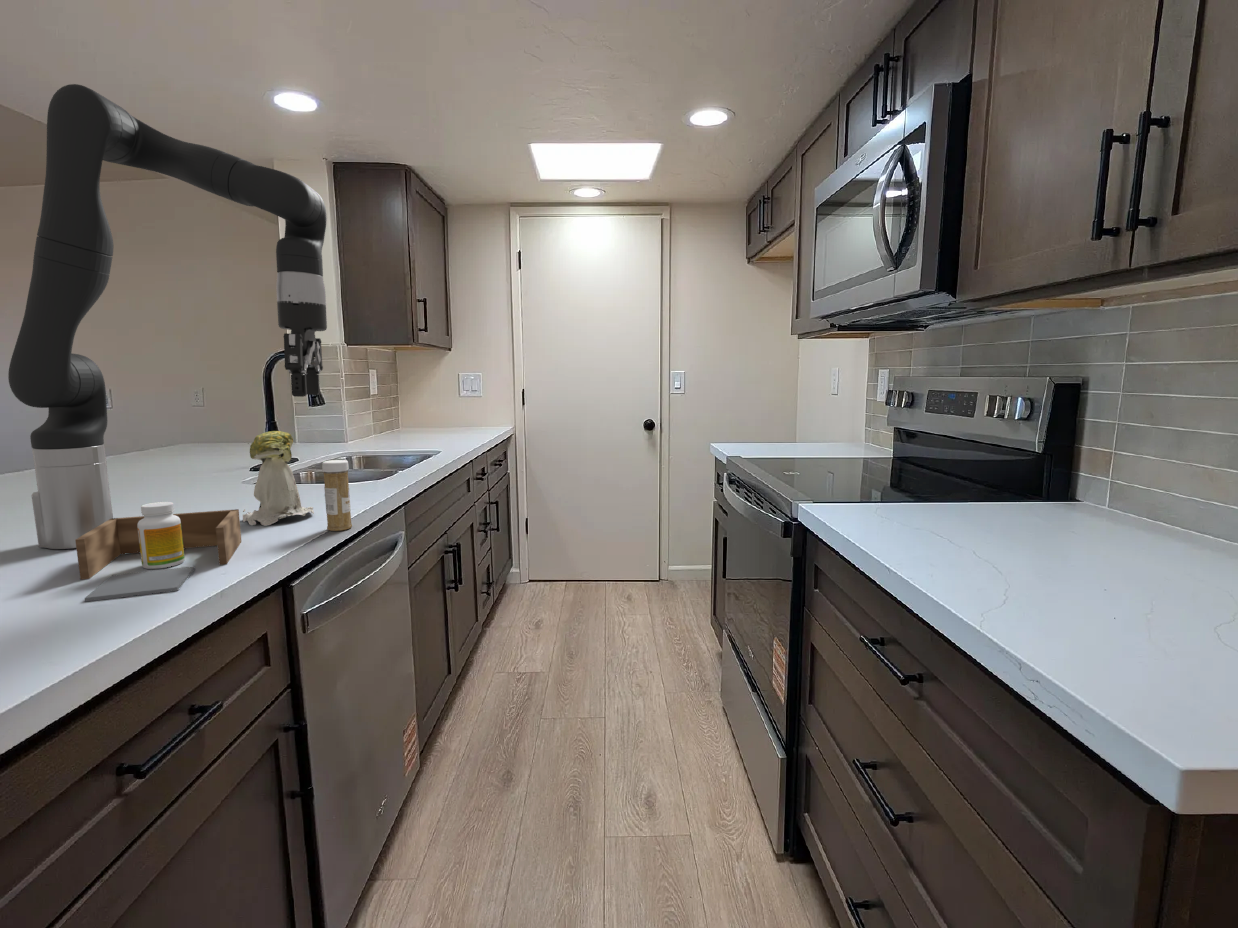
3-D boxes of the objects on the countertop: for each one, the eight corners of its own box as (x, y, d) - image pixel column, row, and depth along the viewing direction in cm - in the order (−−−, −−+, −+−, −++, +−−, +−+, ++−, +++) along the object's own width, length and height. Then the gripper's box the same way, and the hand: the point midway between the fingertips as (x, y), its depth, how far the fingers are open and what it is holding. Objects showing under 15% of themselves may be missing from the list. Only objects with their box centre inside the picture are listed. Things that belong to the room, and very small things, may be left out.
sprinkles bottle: (355, 528, 115) (351, 461, 113) (331, 532, 112) (326, 463, 110) (347, 524, 118) (343, 458, 116) (323, 528, 115) (318, 460, 113)
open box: (115, 553, 98) (110, 518, 97) (241, 541, 105) (238, 509, 104) (80, 579, 85) (75, 539, 84) (226, 564, 93) (223, 527, 92)
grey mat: (112, 577, 86) (112, 574, 86) (194, 569, 90) (194, 566, 90) (85, 601, 77) (84, 597, 77) (177, 590, 81) (177, 587, 81)
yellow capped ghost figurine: (327, 515, 126) (321, 430, 123) (268, 528, 115) (260, 435, 112) (291, 509, 131) (285, 427, 129) (231, 521, 120) (223, 432, 117)
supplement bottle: (193, 561, 94) (187, 502, 93) (157, 571, 89) (150, 509, 88) (169, 557, 96) (163, 499, 95) (133, 567, 91) (126, 506, 90)
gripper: (290, 305, 108) (295, 394, 110) (263, 295, 94) (269, 396, 97) (334, 307, 110) (338, 394, 112) (314, 298, 96) (319, 397, 98)
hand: (306, 395), depth 104 cm, fingers open, 8 cm apart
